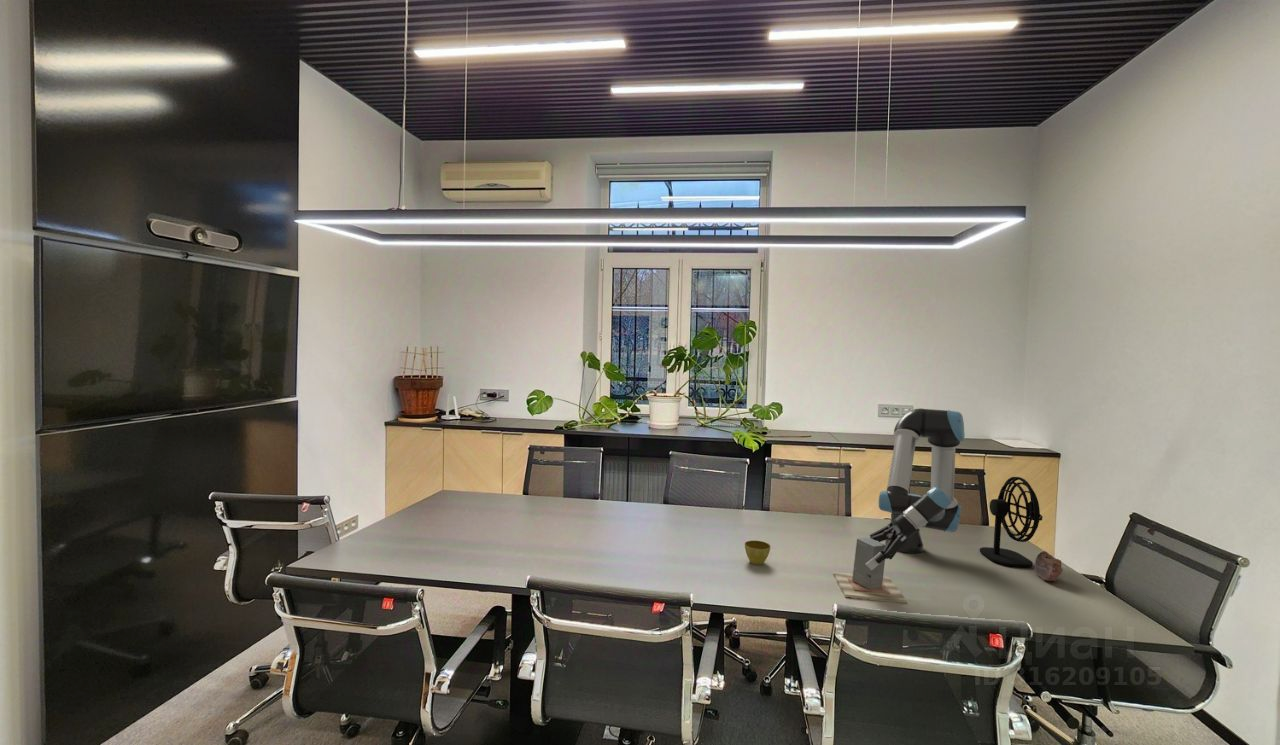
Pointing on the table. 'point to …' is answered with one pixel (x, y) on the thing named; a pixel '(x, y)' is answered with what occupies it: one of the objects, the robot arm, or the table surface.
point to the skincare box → (861, 571)
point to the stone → (1048, 566)
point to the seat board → (858, 591)
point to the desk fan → (1012, 523)
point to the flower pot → (757, 551)
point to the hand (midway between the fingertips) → (863, 560)
